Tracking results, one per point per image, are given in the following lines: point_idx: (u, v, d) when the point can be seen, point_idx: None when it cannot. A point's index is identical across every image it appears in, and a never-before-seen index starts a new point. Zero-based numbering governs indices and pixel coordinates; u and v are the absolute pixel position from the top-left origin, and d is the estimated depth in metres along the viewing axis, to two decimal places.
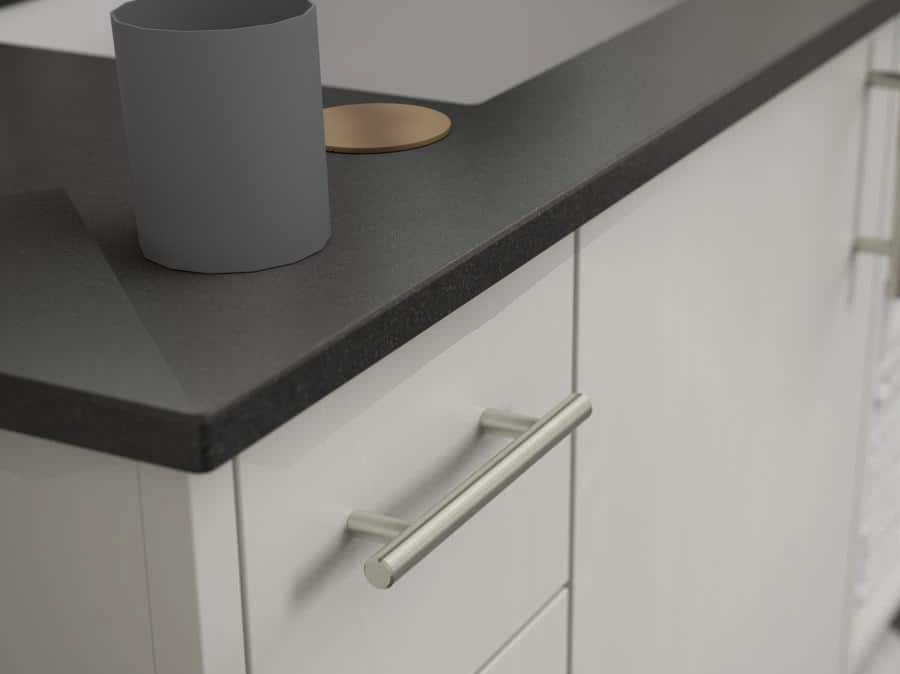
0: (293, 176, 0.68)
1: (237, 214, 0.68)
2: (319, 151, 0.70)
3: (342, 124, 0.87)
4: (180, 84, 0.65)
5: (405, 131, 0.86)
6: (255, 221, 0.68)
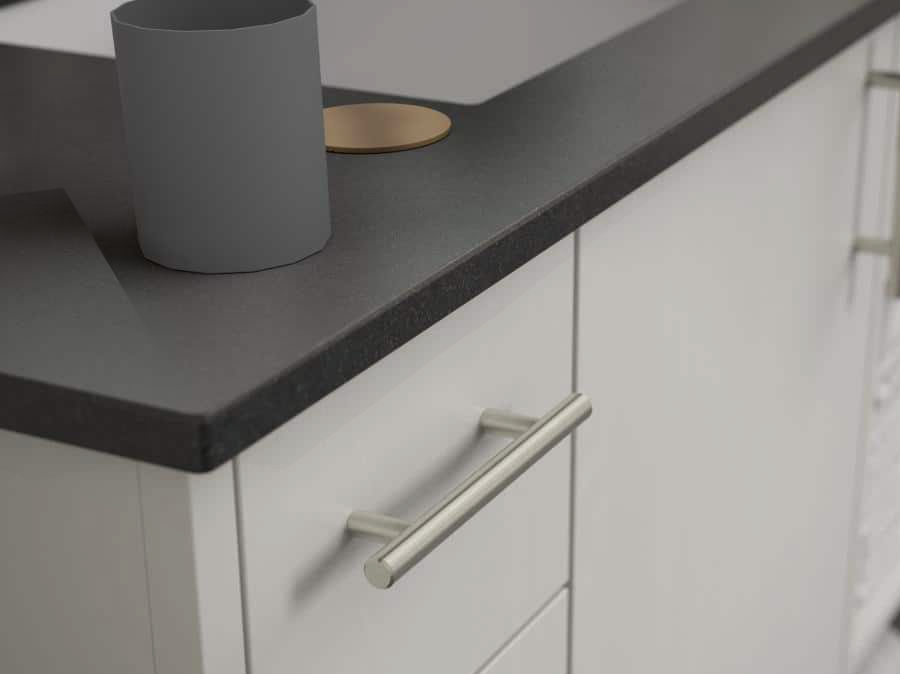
0: (293, 176, 0.68)
1: (237, 214, 0.68)
2: (319, 151, 0.70)
3: (342, 124, 0.87)
4: (180, 84, 0.65)
5: (405, 131, 0.86)
6: (255, 221, 0.68)
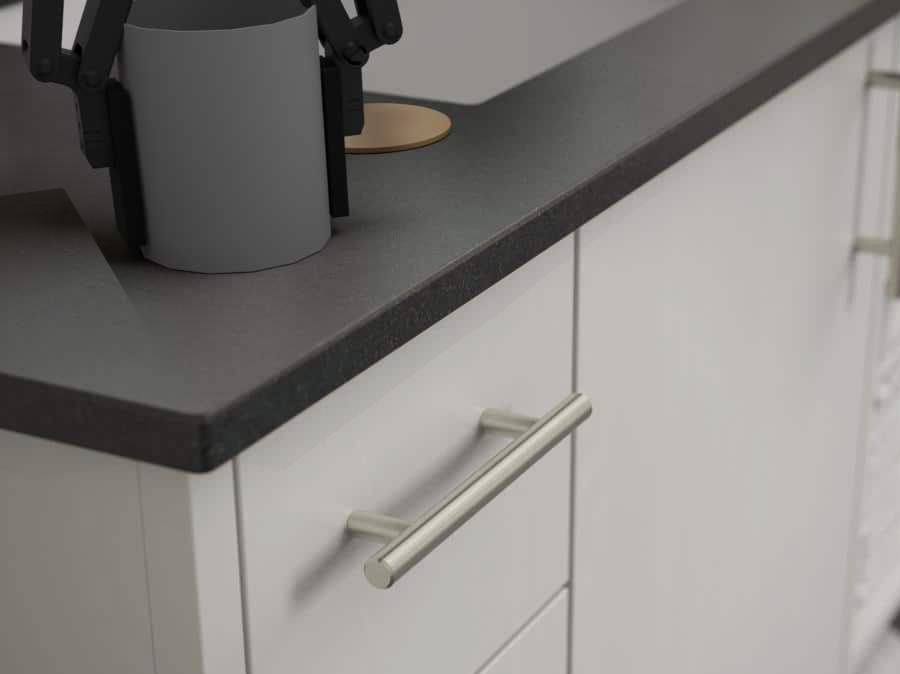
0: (293, 176, 0.68)
1: (237, 214, 0.68)
2: (319, 151, 0.70)
3: None
4: (180, 84, 0.65)
5: (405, 131, 0.86)
6: (255, 221, 0.68)
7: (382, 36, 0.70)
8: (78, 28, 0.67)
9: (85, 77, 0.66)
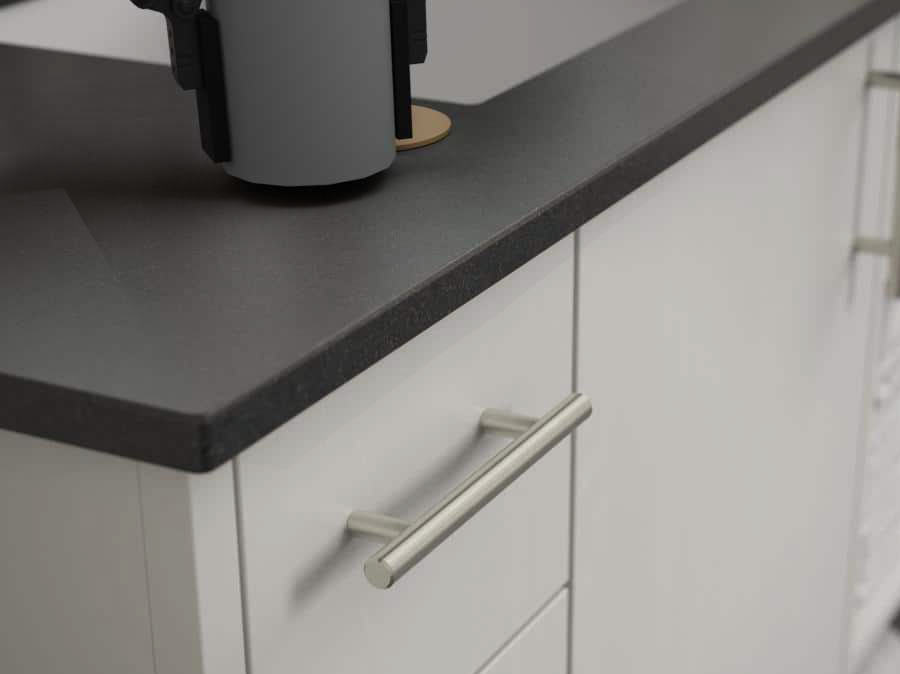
0: (365, 97, 0.75)
1: (314, 131, 0.75)
2: (387, 76, 0.77)
3: None
4: (265, 10, 0.72)
5: None
6: (331, 138, 0.75)
7: None
8: None
9: (179, 4, 0.73)
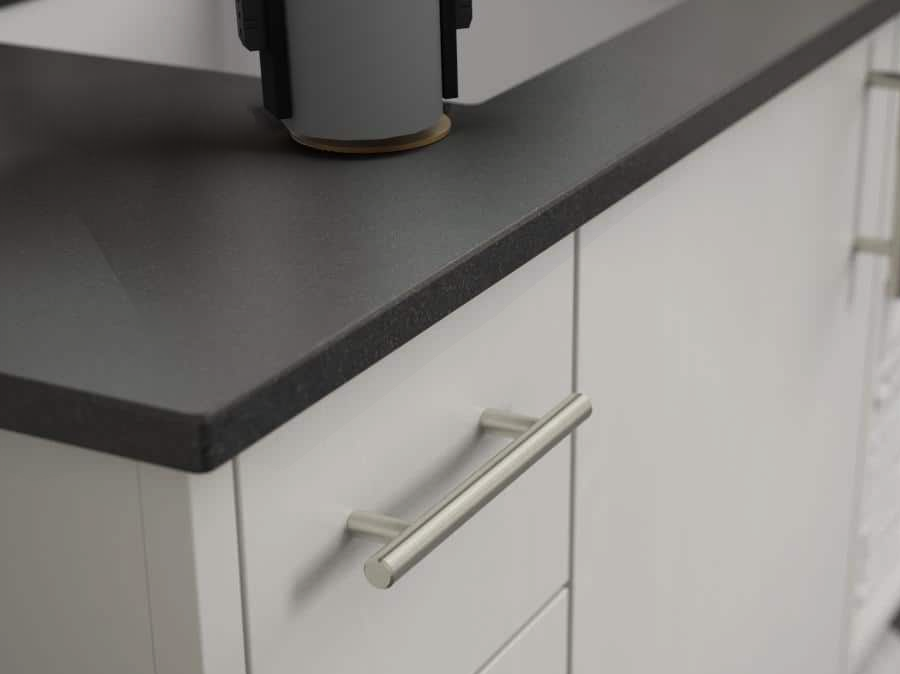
0: (417, 58, 0.82)
1: (370, 89, 0.81)
2: (436, 39, 0.83)
3: None
4: None
5: None
6: (385, 96, 0.82)
7: None
8: None
9: None
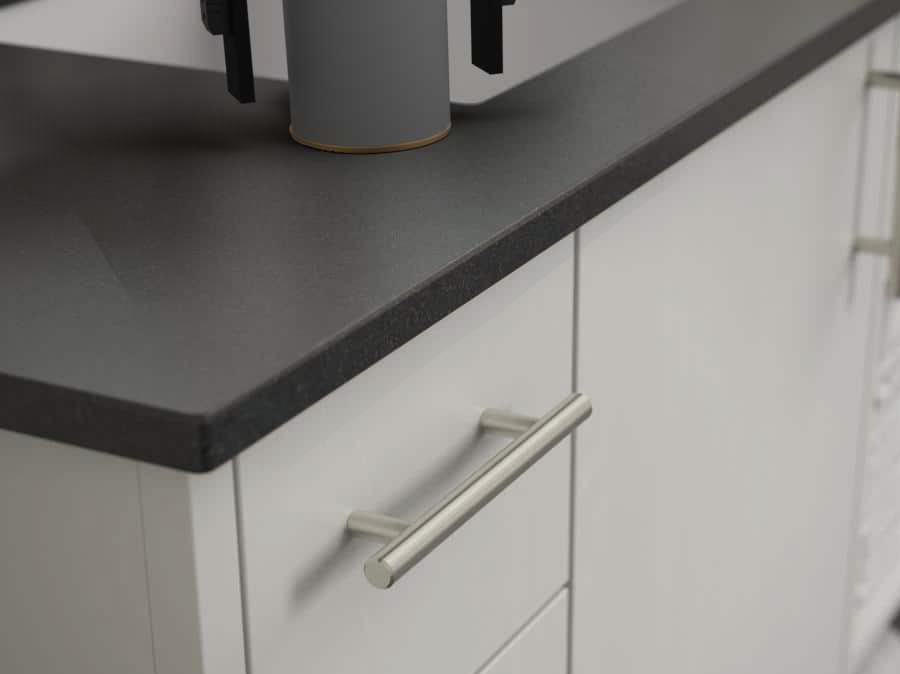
0: (425, 66, 0.83)
1: (380, 96, 0.83)
2: (444, 48, 0.85)
3: None
4: None
5: None
6: (395, 103, 0.83)
7: None
8: None
9: None
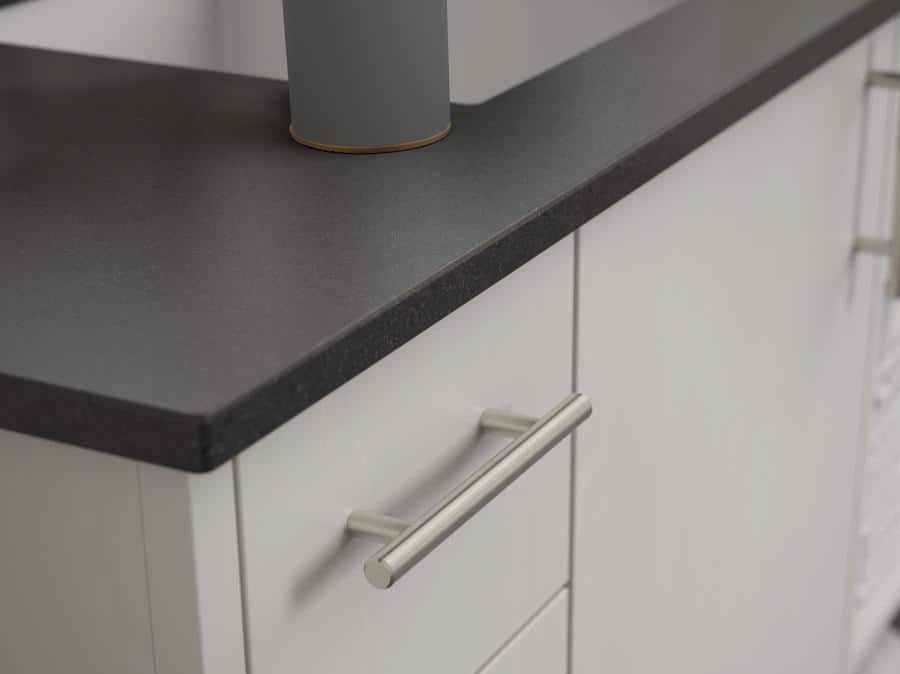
0: (425, 66, 0.83)
1: (380, 96, 0.83)
2: (444, 48, 0.85)
3: None
4: None
5: None
6: (395, 103, 0.83)
7: None
8: None
9: None
